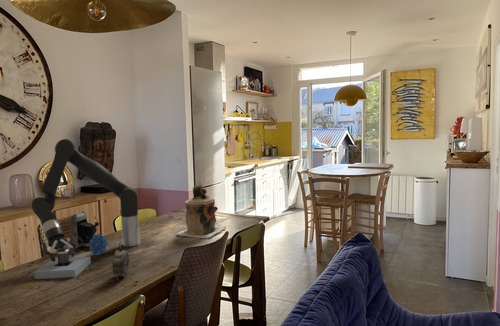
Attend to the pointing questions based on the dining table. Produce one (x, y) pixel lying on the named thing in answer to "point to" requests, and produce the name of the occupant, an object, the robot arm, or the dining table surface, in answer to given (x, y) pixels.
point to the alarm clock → (120, 262)
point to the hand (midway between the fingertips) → (64, 258)
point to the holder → (62, 268)
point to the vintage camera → (82, 229)
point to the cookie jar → (200, 215)
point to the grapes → (98, 244)
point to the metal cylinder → (63, 257)
